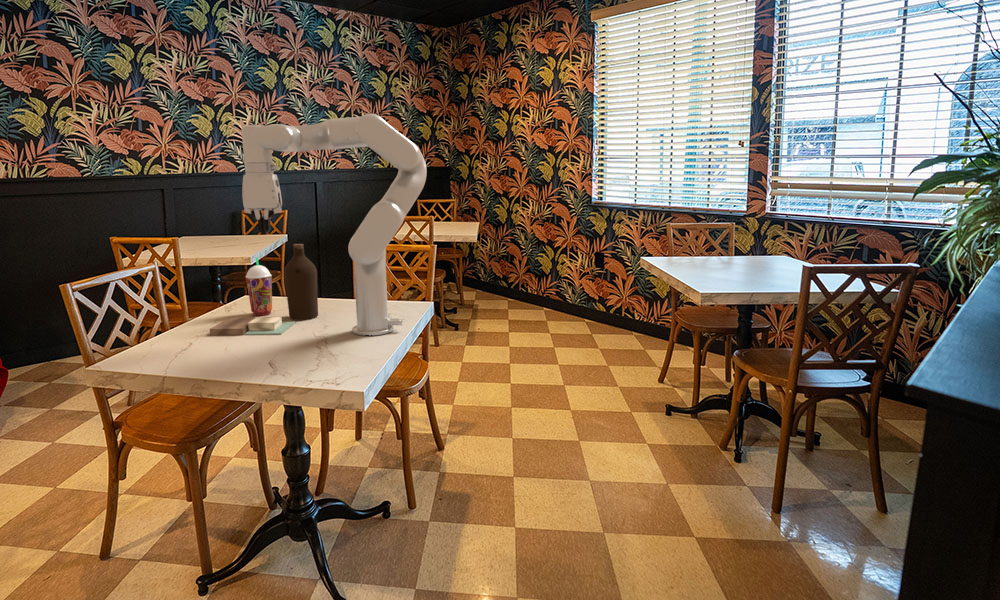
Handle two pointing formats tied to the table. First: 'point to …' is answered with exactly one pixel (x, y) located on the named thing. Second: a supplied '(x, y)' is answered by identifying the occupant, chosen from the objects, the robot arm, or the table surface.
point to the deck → (232, 326)
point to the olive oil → (301, 286)
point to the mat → (272, 332)
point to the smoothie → (259, 289)
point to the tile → (265, 323)
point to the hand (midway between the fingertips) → (265, 232)
